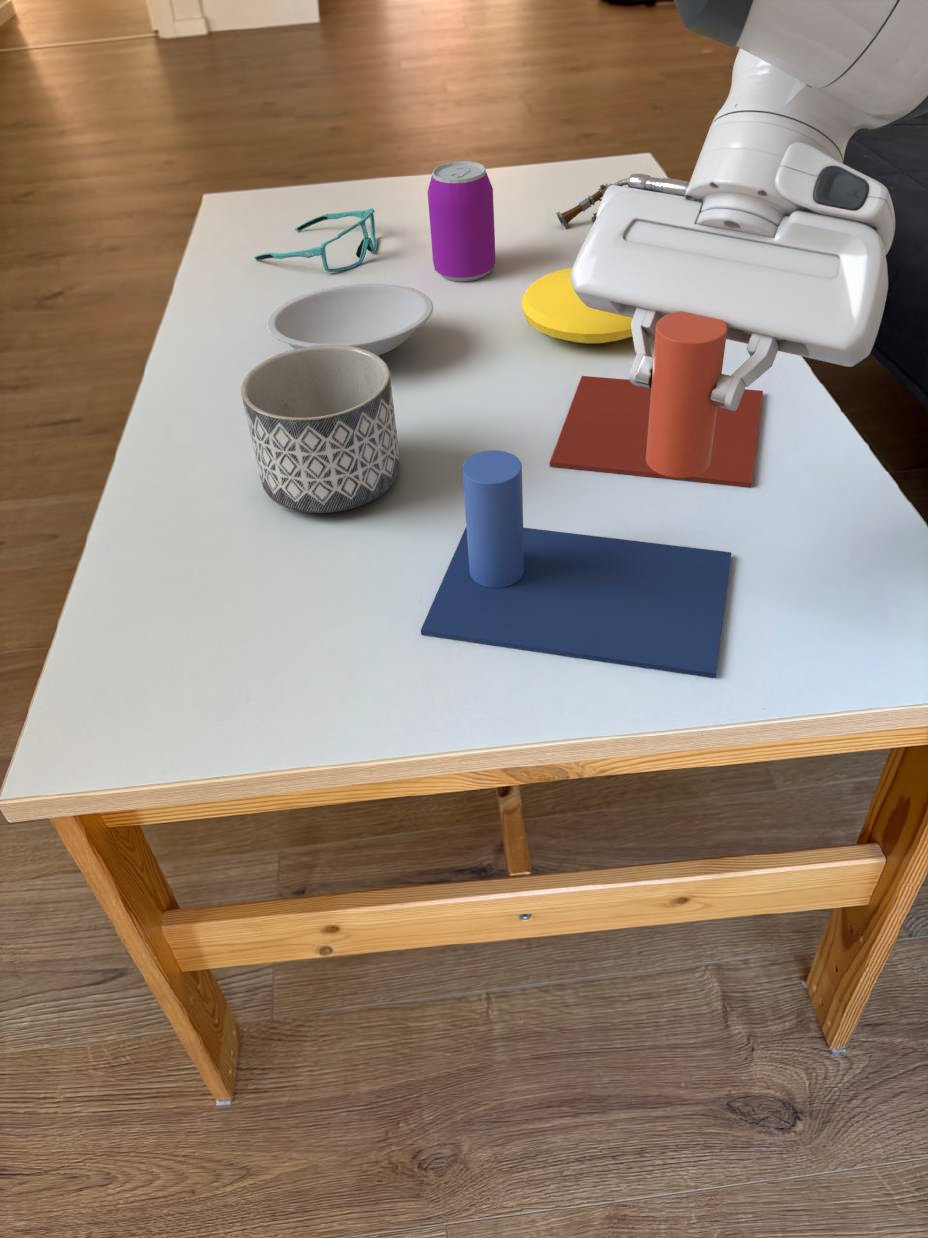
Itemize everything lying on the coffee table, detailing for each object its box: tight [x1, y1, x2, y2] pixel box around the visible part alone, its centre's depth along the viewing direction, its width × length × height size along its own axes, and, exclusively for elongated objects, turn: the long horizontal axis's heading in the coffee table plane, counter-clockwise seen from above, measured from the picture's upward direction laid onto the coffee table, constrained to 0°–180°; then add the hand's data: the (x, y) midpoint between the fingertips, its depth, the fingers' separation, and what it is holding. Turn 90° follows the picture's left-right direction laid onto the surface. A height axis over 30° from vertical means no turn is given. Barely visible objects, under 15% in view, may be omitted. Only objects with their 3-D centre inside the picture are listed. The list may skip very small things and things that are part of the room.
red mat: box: [549, 375, 764, 488], centre depth 97 cm, size 18×16×1 cm
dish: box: [266, 283, 434, 357], centre depth 110 cm, size 18×14×5 cm
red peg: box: [646, 311, 727, 478], centre depth 67 cm, size 4×4×10 cm
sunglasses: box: [253, 207, 378, 273], centre depth 132 cm, size 14×15×5 cm
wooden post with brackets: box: [555, 183, 614, 230], centre depth 134 cm, size 2×8×4 cm, turn 106°
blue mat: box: [420, 526, 732, 679], centre depth 80 cm, size 22×14×1 cm, turn 75°
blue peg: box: [462, 449, 524, 588], centre depth 79 cm, size 4×4×10 cm
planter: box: [240, 345, 401, 514], centre depth 90 cm, size 13×13×10 cm
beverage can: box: [427, 160, 496, 282], centre depth 122 cm, size 8×8×12 cm
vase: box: [520, 266, 633, 345], centre depth 111 cm, size 16×16×7 cm
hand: (681, 395), depth 67 cm, fingers closed on red peg, 4 cm apart
